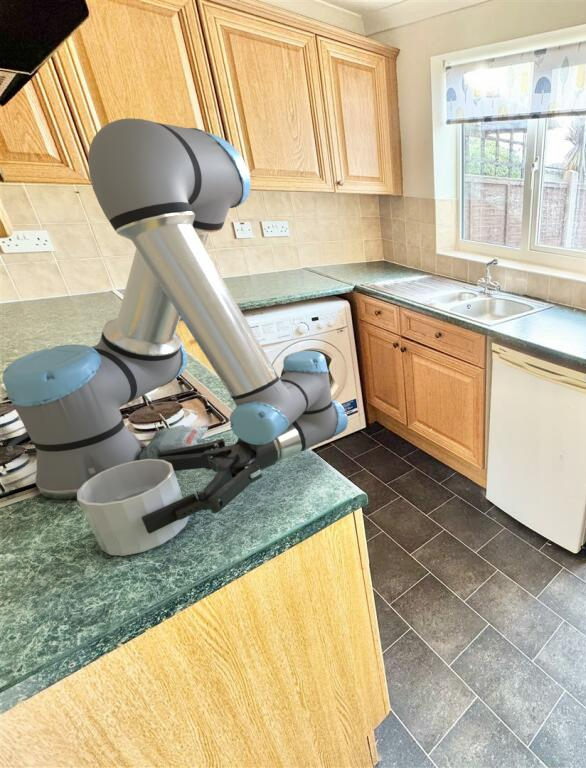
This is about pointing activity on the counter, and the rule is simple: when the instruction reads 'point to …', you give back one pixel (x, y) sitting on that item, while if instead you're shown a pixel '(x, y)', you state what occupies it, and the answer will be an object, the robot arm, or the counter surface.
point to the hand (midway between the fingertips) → (127, 505)
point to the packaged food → (172, 440)
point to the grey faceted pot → (130, 505)
